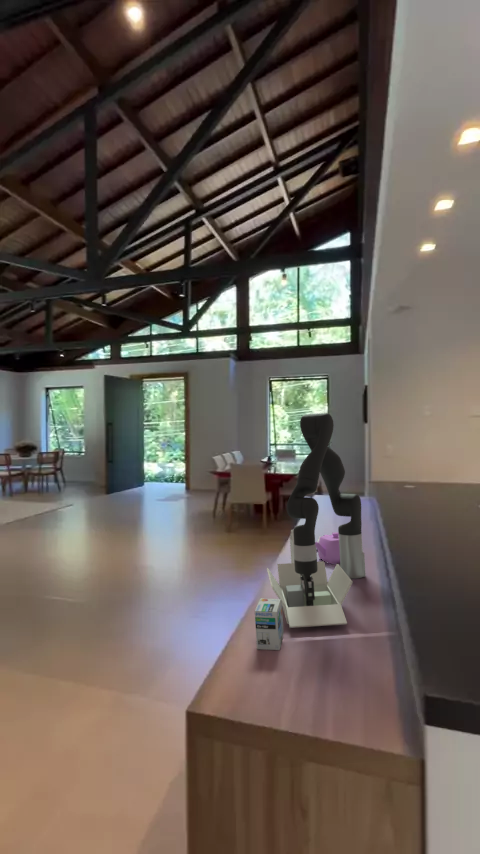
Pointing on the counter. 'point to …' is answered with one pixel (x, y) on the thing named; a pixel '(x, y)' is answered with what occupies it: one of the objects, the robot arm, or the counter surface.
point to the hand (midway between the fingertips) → (308, 606)
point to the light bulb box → (269, 624)
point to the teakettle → (329, 548)
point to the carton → (335, 587)
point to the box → (299, 599)
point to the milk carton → (292, 546)
